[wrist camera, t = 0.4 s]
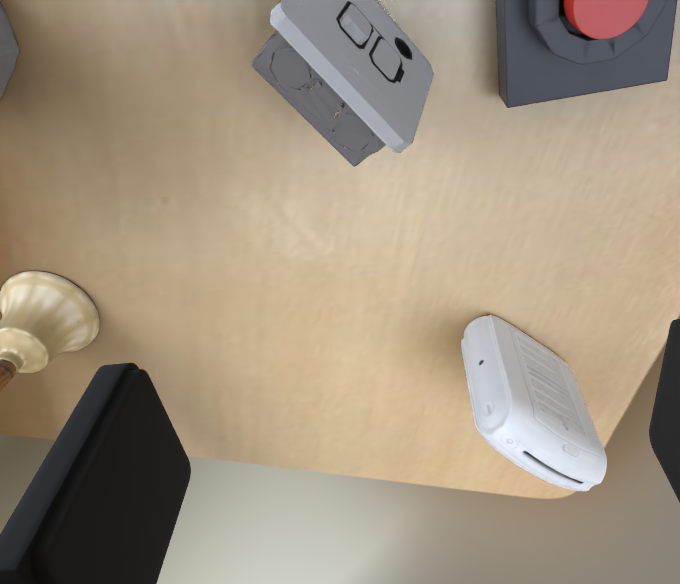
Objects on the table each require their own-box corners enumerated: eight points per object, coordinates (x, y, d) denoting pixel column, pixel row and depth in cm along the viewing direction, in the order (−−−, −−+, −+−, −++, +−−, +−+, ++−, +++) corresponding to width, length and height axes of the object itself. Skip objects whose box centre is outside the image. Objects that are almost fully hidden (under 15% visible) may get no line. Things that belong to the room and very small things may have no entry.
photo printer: (450, 337, 47) (471, 456, 37) (486, 304, 45) (518, 421, 35) (538, 391, 50) (580, 516, 40) (576, 363, 48) (629, 486, 38)
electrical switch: (436, 69, 35) (438, 127, 28) (375, 123, 38) (363, 189, 31) (329, -57, 32) (300, -27, 25) (271, 13, 35) (229, 58, 27)
